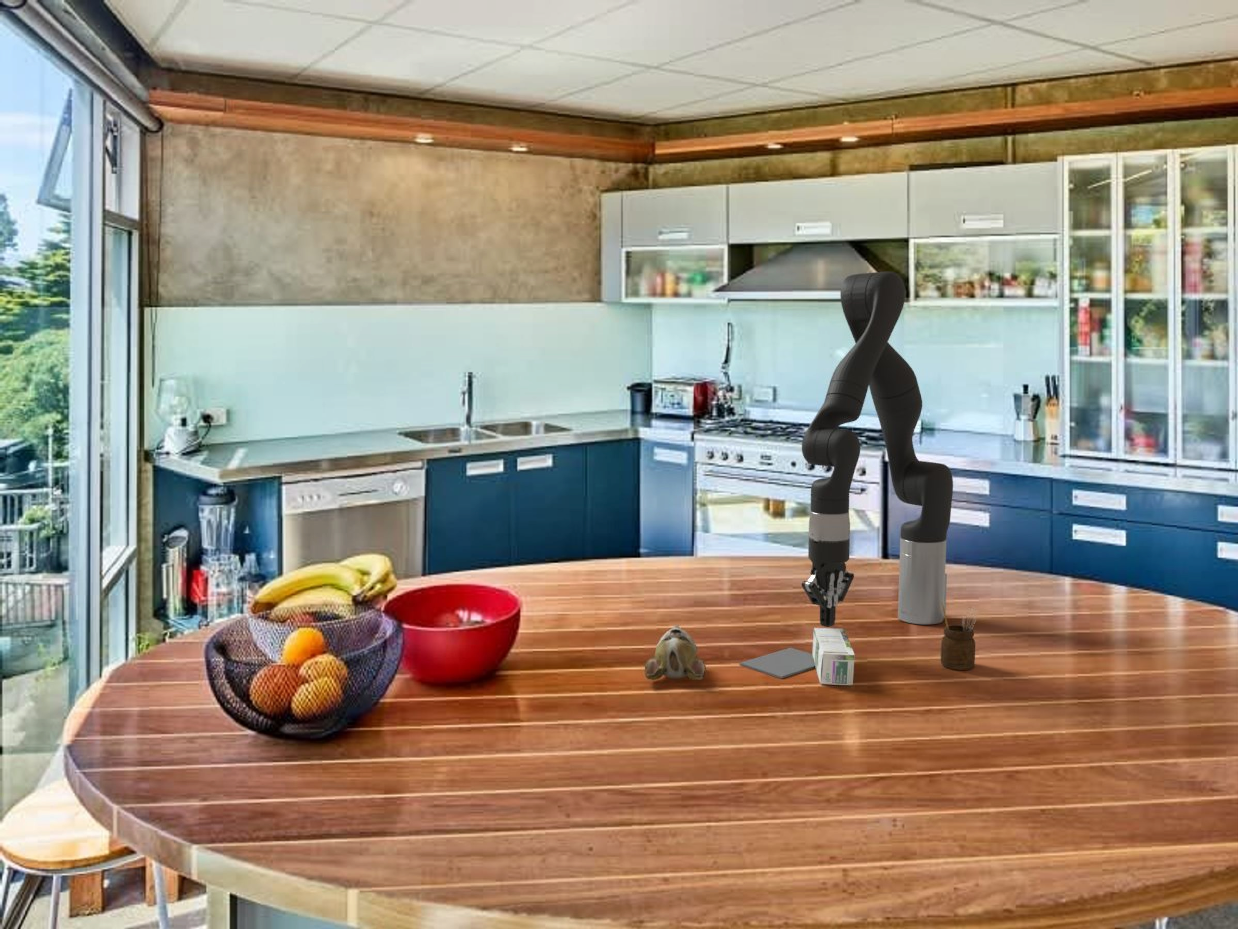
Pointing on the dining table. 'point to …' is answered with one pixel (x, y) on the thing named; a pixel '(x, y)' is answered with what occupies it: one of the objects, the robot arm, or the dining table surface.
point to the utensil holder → (958, 646)
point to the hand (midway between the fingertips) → (827, 625)
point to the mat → (782, 663)
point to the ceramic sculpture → (675, 657)
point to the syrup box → (833, 656)
